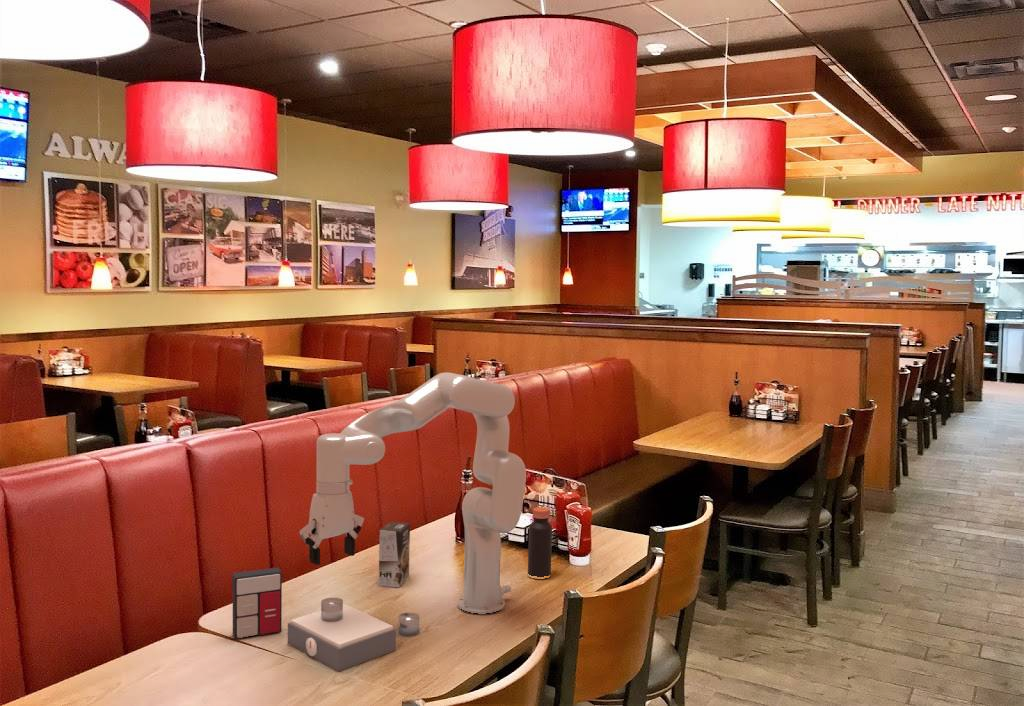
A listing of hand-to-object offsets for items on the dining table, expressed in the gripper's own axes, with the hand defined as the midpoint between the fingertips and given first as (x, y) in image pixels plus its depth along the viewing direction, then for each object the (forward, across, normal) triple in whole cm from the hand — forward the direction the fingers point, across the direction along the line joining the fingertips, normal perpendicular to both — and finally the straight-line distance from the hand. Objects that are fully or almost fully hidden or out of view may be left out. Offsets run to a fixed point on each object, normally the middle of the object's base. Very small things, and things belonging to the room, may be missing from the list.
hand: (332, 558), depth 204 cm
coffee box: (+20, -37, -22) cm, 47 cm away
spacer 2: (+20, -17, +8) cm, 27 cm away
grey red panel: (+20, +10, -16) cm, 28 cm away
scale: (+20, 0, +4) cm, 20 cm away
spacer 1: (+14, 0, 0) cm, 14 cm away
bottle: (+21, -71, +3) cm, 74 cm away
